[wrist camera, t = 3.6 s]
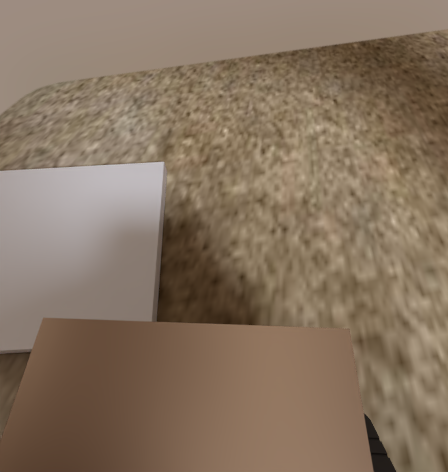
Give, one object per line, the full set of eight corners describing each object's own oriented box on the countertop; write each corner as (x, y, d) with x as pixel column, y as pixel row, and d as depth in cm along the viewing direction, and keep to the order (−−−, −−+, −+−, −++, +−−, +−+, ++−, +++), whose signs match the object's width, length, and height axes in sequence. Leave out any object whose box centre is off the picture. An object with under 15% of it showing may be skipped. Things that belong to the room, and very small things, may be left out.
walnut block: (276, 365, 14) (349, 328, 5) (284, 529, 11) (472, 1049, 2) (159, 360, 14) (43, 317, 6) (137, 519, 11) (-180, 956, 3)
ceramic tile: (166, 171, 20) (163, 161, 20) (155, 345, 15) (150, 342, 14) (4, 180, 20) (-6, 171, 20) (-72, 357, 15) (-91, 355, 14)
